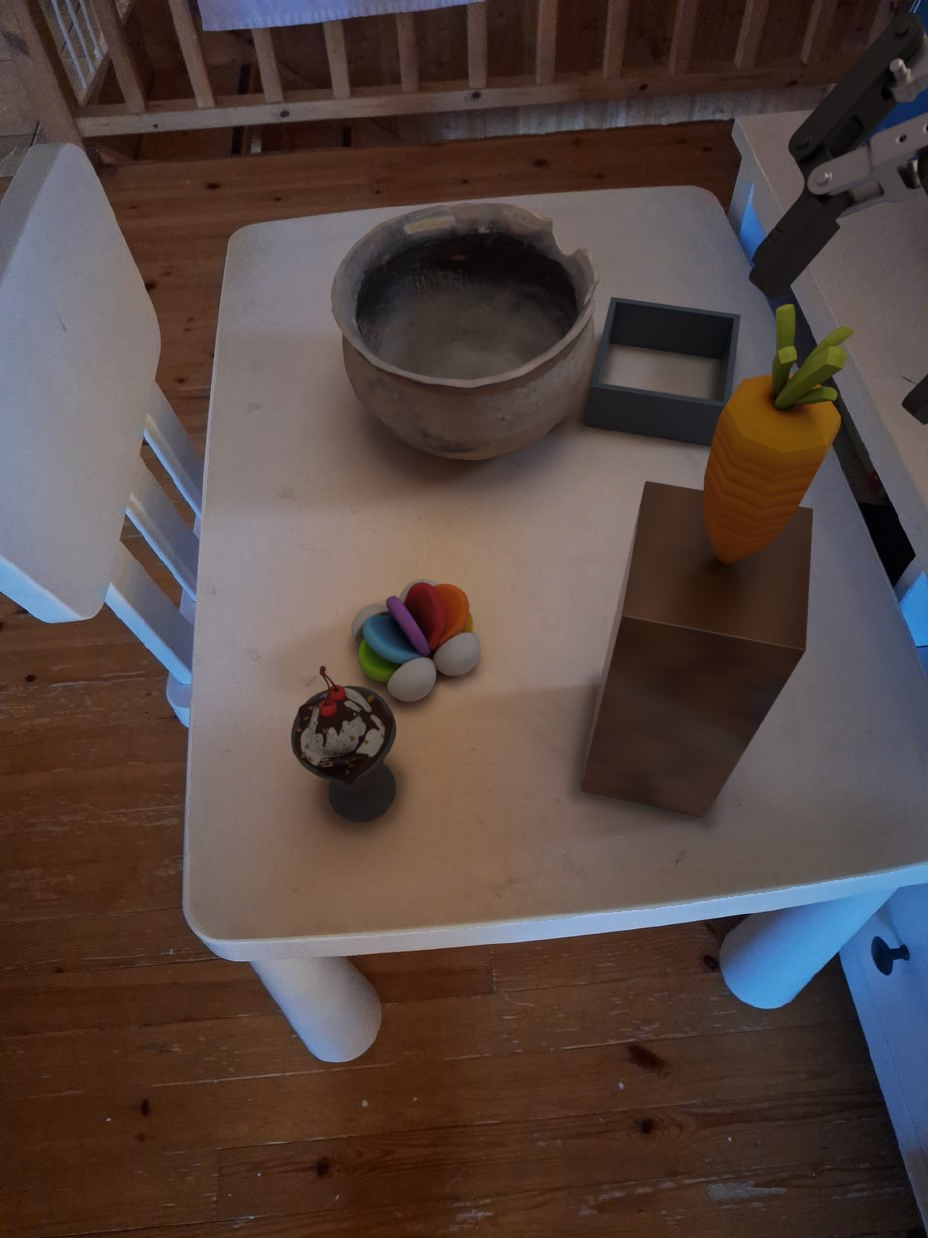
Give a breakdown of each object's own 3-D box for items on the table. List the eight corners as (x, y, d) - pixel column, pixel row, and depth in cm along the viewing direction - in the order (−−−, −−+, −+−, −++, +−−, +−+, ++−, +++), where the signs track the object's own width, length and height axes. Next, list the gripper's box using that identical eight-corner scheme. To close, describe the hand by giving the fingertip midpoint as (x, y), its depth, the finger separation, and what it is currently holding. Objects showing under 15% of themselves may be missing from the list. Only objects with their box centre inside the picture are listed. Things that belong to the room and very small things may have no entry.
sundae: (354, 730, 68) (323, 628, 55) (425, 778, 66) (410, 683, 53) (297, 799, 65) (251, 708, 53) (369, 851, 63) (339, 769, 51)
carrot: (678, 517, 48) (747, 279, 35) (773, 527, 48) (878, 290, 35) (675, 594, 46) (748, 367, 33) (775, 606, 45) (890, 380, 32)
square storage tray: (728, 355, 88) (741, 314, 84) (717, 446, 82) (729, 407, 78) (605, 337, 90) (611, 296, 86) (585, 425, 84) (590, 385, 80)
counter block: (716, 706, 69) (813, 508, 48) (705, 817, 64) (806, 650, 44) (599, 682, 70) (645, 479, 49) (579, 790, 65) (621, 615, 45)
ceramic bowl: (624, 466, 81) (649, 334, 69) (395, 535, 78) (376, 410, 65) (531, 312, 92) (537, 174, 80) (327, 367, 89) (299, 231, 76)
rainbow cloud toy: (497, 662, 71) (498, 613, 65) (391, 723, 69) (381, 678, 62) (441, 587, 75) (437, 534, 69) (339, 642, 72) (324, 592, 66)
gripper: (1018, -217, 29) (678, 220, 36) (1469, -53, 23) (952, 443, 30) (1044, -68, 35) (747, 284, 42) (1409, 96, 29) (989, 481, 36)
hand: (832, 349), depth 36 cm, fingers open, 8 cm apart
